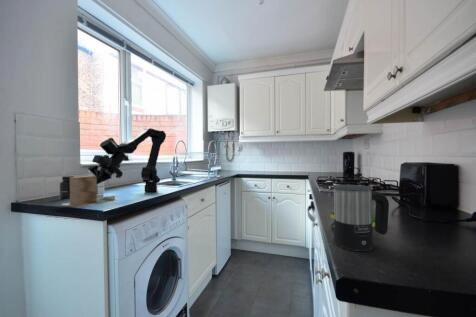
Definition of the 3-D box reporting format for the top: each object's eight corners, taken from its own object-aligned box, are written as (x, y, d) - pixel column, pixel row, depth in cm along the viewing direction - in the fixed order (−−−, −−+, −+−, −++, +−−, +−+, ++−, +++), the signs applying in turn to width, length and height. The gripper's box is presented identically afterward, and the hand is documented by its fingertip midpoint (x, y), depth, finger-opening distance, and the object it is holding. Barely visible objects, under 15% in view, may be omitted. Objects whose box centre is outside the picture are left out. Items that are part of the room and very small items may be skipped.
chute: (102, 199, 115) (102, 193, 115) (121, 201, 109) (121, 195, 109) (60, 206, 98) (60, 199, 98) (80, 209, 92) (80, 202, 92)
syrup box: (105, 194, 129) (104, 169, 129) (97, 196, 123) (97, 170, 123) (95, 194, 130) (95, 169, 130) (88, 195, 124) (87, 170, 124)
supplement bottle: (59, 201, 109) (59, 177, 109) (59, 199, 114) (58, 176, 114) (76, 199, 114) (76, 176, 114) (75, 197, 119) (75, 175, 119)
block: (88, 201, 105) (88, 175, 104) (96, 202, 102) (96, 176, 102) (69, 204, 97) (69, 177, 97) (78, 205, 95) (77, 177, 95)
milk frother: (354, 255, 50) (355, 190, 50) (307, 233, 65) (307, 182, 65) (394, 245, 56) (395, 186, 56) (342, 227, 70) (343, 180, 70)
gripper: (92, 149, 112) (67, 172, 102) (117, 149, 104) (93, 174, 94) (106, 164, 119) (85, 187, 109) (131, 165, 112) (110, 190, 102)
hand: (93, 184), depth 103 cm, fingers closed, pressing on block
